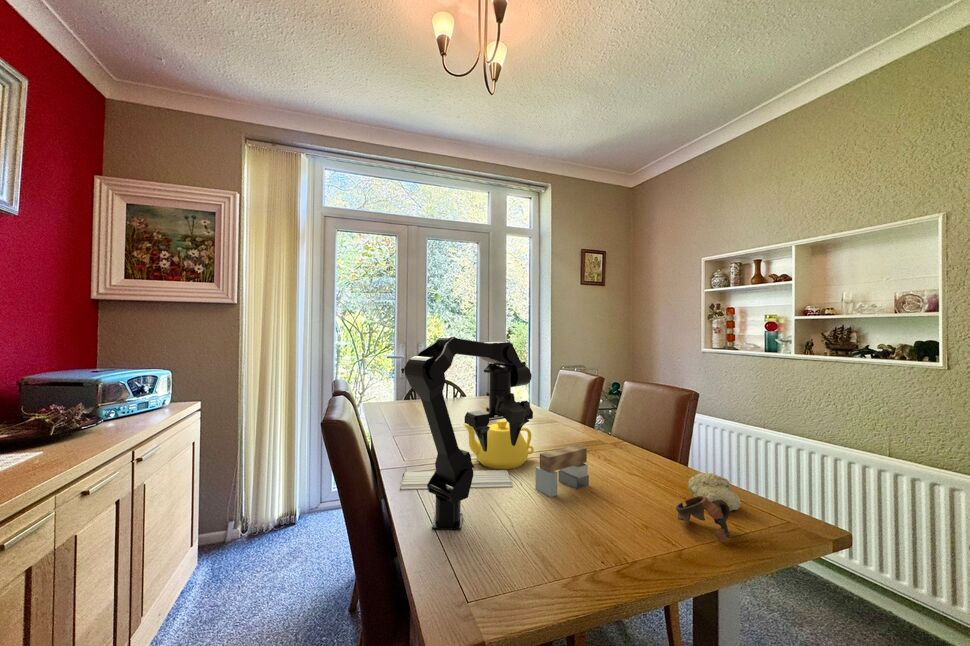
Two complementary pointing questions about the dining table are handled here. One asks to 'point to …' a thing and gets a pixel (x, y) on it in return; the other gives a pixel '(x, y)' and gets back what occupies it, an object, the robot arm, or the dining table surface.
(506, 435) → the teapot
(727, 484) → the decorative item
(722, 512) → the dark curved fragment
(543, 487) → the light gray rectangular block
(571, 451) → the batten
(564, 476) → the grey stepped block
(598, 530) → the dining table surface
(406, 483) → the baseboard molding
